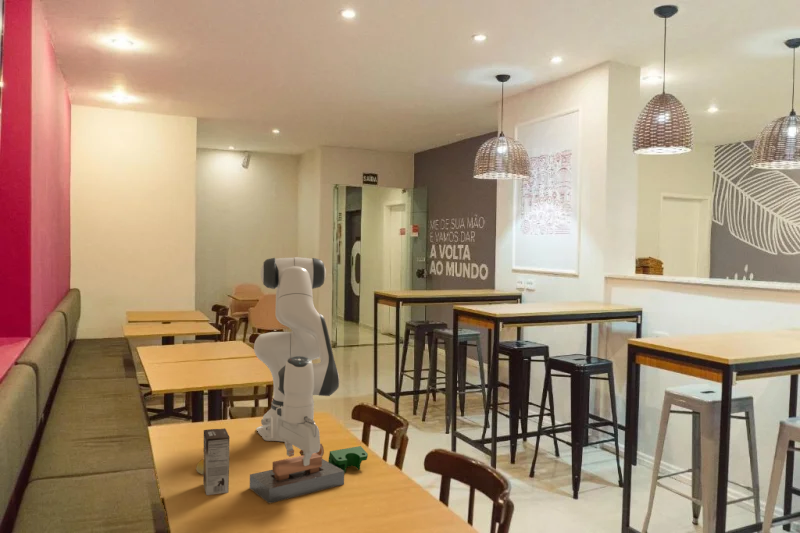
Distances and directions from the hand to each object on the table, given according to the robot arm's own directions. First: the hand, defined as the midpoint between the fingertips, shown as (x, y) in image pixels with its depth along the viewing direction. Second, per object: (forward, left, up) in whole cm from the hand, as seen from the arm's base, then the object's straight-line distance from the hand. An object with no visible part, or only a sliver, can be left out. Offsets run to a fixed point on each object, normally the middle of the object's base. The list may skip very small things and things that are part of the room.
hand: (297, 460), depth 177 cm
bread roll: (-27, -16, -8) cm, 32 cm away
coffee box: (-12, -20, -8) cm, 25 cm away
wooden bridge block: (0, 0, -8) cm, 8 cm away
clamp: (-4, +20, -8) cm, 22 cm away
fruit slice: (-17, +14, -8) cm, 23 cm away
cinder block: (0, 0, -8) cm, 8 cm away
